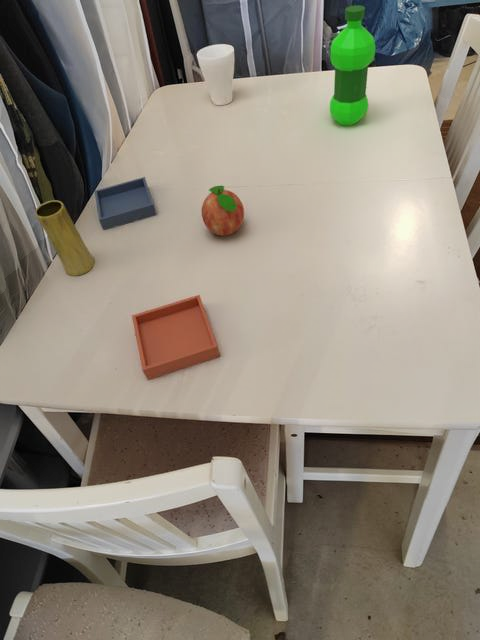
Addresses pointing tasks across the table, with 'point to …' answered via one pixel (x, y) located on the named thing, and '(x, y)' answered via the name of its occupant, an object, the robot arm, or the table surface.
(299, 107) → the table surface
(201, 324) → the terracotta tray
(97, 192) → the slate tray
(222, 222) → the fruit
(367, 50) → the plastic bottle
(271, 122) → the table surface
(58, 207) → the vase
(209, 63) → the cup
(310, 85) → the table surface
